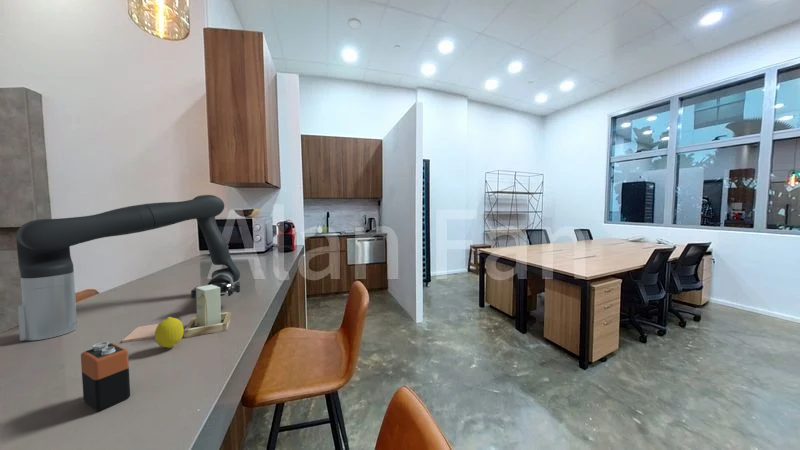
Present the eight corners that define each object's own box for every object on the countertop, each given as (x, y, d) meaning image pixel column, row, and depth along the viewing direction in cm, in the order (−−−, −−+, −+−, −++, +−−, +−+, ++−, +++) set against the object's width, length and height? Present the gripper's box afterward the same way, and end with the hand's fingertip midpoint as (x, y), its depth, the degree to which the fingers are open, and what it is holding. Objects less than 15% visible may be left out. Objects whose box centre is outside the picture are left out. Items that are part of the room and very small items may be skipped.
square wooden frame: (183, 337, 73) (183, 330, 73) (193, 323, 83) (192, 317, 83) (227, 330, 78) (226, 323, 78) (231, 317, 88) (230, 311, 88)
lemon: (167, 354, 64) (166, 322, 64) (149, 352, 66) (147, 320, 65) (190, 343, 70) (188, 313, 70) (172, 342, 71) (171, 312, 71)
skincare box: (196, 327, 80) (194, 287, 80) (213, 322, 84) (211, 284, 84) (205, 332, 77) (203, 290, 76) (222, 326, 81) (220, 286, 80)
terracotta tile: (122, 342, 71) (121, 340, 71) (137, 328, 80) (137, 326, 80) (170, 334, 76) (170, 332, 76) (180, 322, 84) (179, 320, 84)
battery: (116, 387, 52) (113, 337, 52) (131, 397, 49) (128, 344, 49) (82, 401, 48) (79, 347, 48) (97, 413, 45) (93, 355, 45)
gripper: (197, 276, 100) (186, 286, 86) (241, 272, 107) (238, 281, 93) (198, 296, 101) (188, 309, 86) (242, 291, 107) (239, 302, 93)
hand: (214, 295), depth 89 cm, fingers open, 8 cm apart
